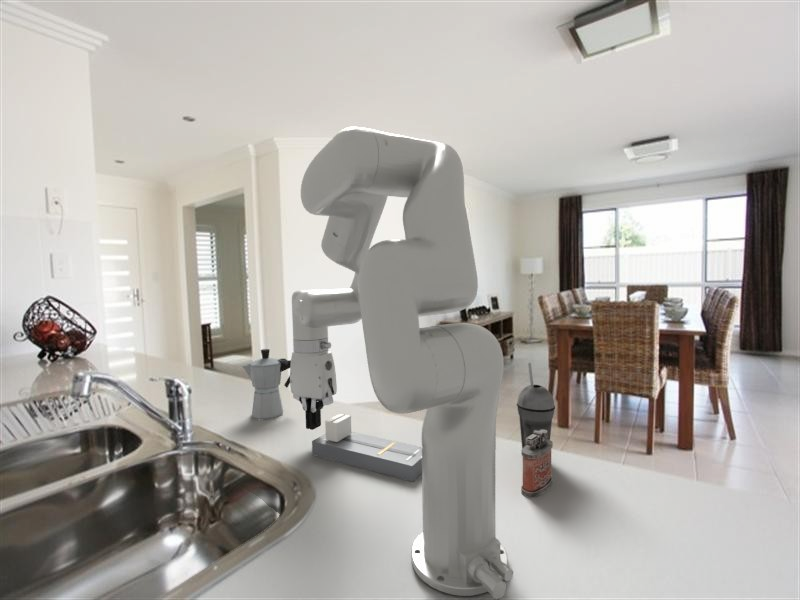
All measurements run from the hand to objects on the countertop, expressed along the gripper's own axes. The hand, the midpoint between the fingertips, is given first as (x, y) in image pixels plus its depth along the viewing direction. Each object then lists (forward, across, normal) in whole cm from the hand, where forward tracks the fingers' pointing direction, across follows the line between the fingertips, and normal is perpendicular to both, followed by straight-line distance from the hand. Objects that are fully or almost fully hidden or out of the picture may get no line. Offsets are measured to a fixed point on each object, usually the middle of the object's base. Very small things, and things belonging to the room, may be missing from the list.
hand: (313, 427), depth 91 cm
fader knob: (+1, -7, 0) cm, 7 cm away
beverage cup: (+4, -45, -14) cm, 47 cm away
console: (+4, -15, 0) cm, 16 cm away
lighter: (+4, -47, -5) cm, 48 cm away
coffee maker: (+4, +24, -10) cm, 27 cm away
